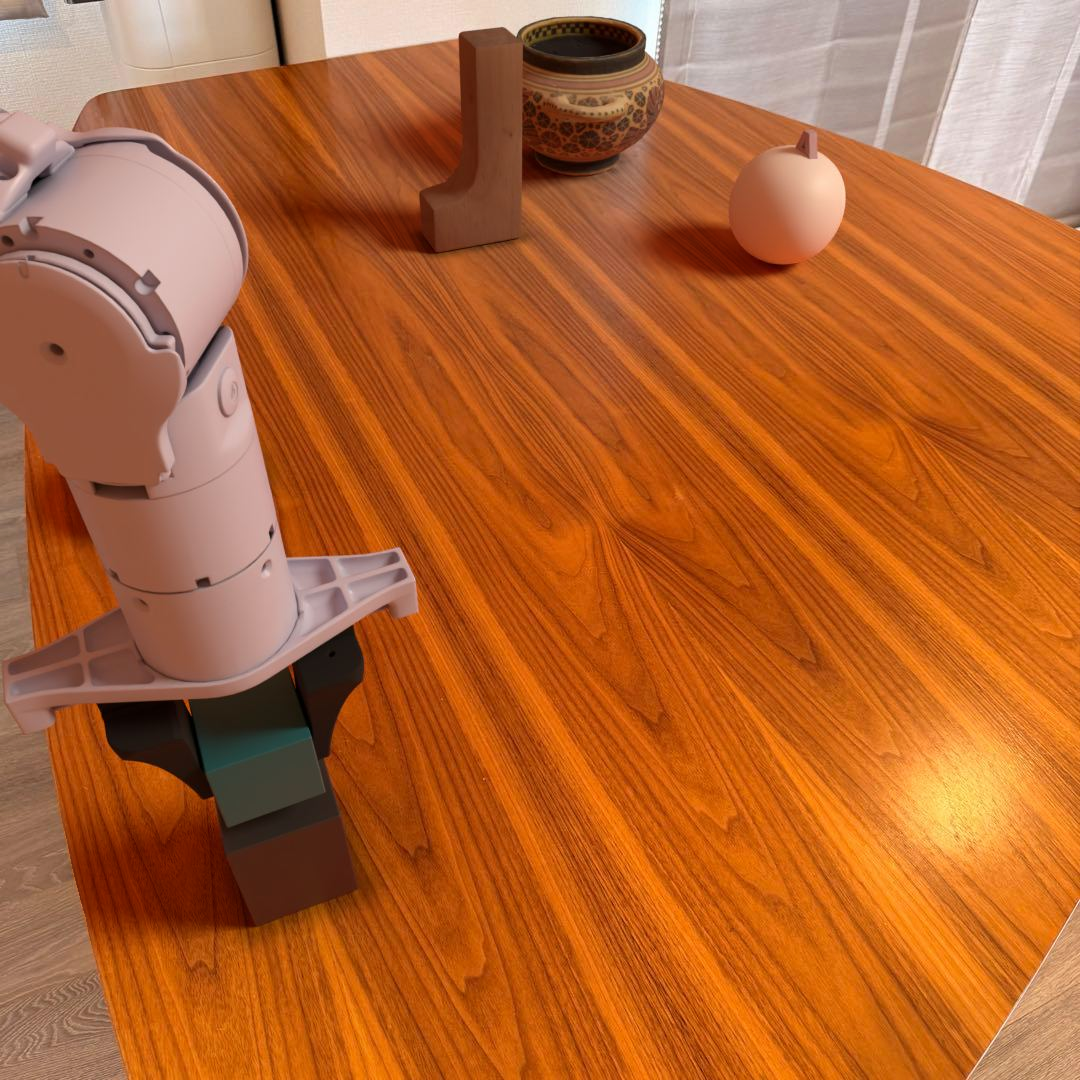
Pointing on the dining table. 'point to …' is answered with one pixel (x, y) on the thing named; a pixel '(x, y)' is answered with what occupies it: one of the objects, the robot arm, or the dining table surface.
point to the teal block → (257, 749)
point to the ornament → (787, 202)
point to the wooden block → (482, 149)
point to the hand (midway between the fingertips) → (263, 759)
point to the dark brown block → (291, 856)
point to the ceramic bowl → (586, 91)
